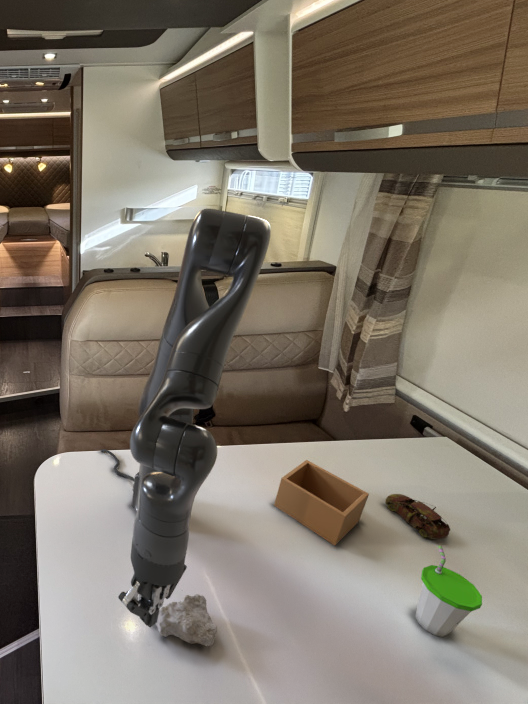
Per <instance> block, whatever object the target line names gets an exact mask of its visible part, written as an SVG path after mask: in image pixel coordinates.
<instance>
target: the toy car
mask: <svg viewBox="0 0 528 704" xmlns="http://www.w3.org/2000/svg"><path fill="white" fill-rule="evenodd" d="M384 503H385V505H387V506H386V507H387V509H388V510H389V511H391V512H395V513H396V514H397V515H398V516H400V517H401V518H402V519H403V520H404V521H405V522H406V523H409V525H411V526H412V528H414V529H416V530H417V531H418V532H419V535H420V536H421V537H423V538H429V539H432V540H441V539H446V538H448V536H449V535H450V532H451V526H450V525H449V523H447V521H446V519H444V518H443V517H442V516H441V515H440V514H438V513H437V512H436V511H435V510H436V508H437V507H436V506H434V505H433V508H432V507H430V506H431V504H429V503H427V502H424V501H419V500H417V499H414V498H411V497H410V496H408V495H406V494H405V495H404V494H402V493H392V494H389V495H387V497H386V498H385V502H384ZM428 505H429V506H428Z"/></svg>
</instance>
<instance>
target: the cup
mask: <svg viewBox="0 0 528 704" xmlns="http://www.w3.org/2000/svg"><path fill="white" fill-rule="evenodd" d="M437 548H438V551H439V554H440V557H441V560H440V562H439V564H438V565H433V564H430V565H427V566H425V567H423V568H422V570H421V576H420V579H421V581H422V583H421V588H420V592H419V597H418V602H417V605H416V611H415V616H414V617H415V619H416V621H417V623H418V625H419V626H420V627H422V628H423V629H424V631H426V632H427V633H430V634H431V635H432V636H435V637H440V638H444V637H447V636H449V634H450V633H451V632H452V631H453V630H455V628H456V627H458V626H459V624H461V622H462V621H464V620H465V619H466V618H467V617H468V616H469V614H470V613H472V612H473V611H476V610H479V609H481V607H482V606H483V595H482V594H481V593H480V592H479V590H478V588H477V587H476V586H475V585H474V584H473V583H472V582H471V581H469V579H466V578H465V576H462V574H460V573H458V572H455V571H453V570H452V569H449V568H447V567H445V564H446V561H447V557H446V554H445V551H444V548H443V545H437Z"/></svg>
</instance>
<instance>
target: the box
mask: <svg viewBox="0 0 528 704" xmlns="http://www.w3.org/2000/svg"><path fill="white" fill-rule="evenodd" d="M369 496H370V493H369V492H367V491H365V490H363V489H361V488H359V487H358V486H356V485H354V484H352V483H350V482H348V481H347V480H344V479H343V478H341V477H339V476H338V475H335V474H334V473H332V472H330V471H328V470H326V469H325V468H323V467H321V466H319V465H317V464H316V463H314V462H311V461H310V460H308V459H305V460H304V461H302V462H300V464H299V465H297V466H296V467H294V468H293V469H291V470H290V471H289V472H287V473H286V474H285V475H283V476H282V477H281V479H280V482H279V485H278V489H277V492H276V497H275V500H274V504H273V506H274V507H276V508H277V509H278V510H280V511H282V512H283V513H285V514H286V515H288V516H289V517H290V518H293V519H294V520H295V521H296V522H298V523H300V524H301V525H302V526H304V527H306V528H307V529H309V530H310V531H312V532H313V533H315V534H317V535H318V536H320V537H321V538H322V539H324V540H325V541H327V542H329V543H330V544H331V545H333V546H336V545H337V544H338V543H339V542H340V541H341V540H342V539H343V538H344V537H346V535H347V534H348V533H349V532H350V531H352V529H354V527H355V526H357V524H358V523H360V519H361V517H362V514H363V511H364V508H365V506H366V503H367V502H368V499H369Z"/></svg>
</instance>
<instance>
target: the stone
mask: <svg viewBox="0 0 528 704" xmlns="http://www.w3.org/2000/svg"><path fill="white" fill-rule="evenodd" d="M154 625H155V626H156V628H157V630H158V633H159V635H160V636H162V637H165V638H166V637H169V636H175V637H177V638H178V639H181V640H182V641H184V642H186V643H188V644H193V645H194V644H199V645H202V646H205V647H209V646H213V644H214V642H215V638H216V635H217V632H218V628H217V627H218V626H217V625H216V624H215V623H214V621H213V619H212V617H211V615H210V614H209V612H208V608H207V599H206V597H205V596H204V595H203V594H202V595H200V594H198V593H196V594H194V595H189V594H185V596H183V597H182V599H181V600H180V601H172V602H169V603H168V604H167V605H166V606H162V607H160V609H159V615H158V620H157V623H155V624H154Z"/></svg>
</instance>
